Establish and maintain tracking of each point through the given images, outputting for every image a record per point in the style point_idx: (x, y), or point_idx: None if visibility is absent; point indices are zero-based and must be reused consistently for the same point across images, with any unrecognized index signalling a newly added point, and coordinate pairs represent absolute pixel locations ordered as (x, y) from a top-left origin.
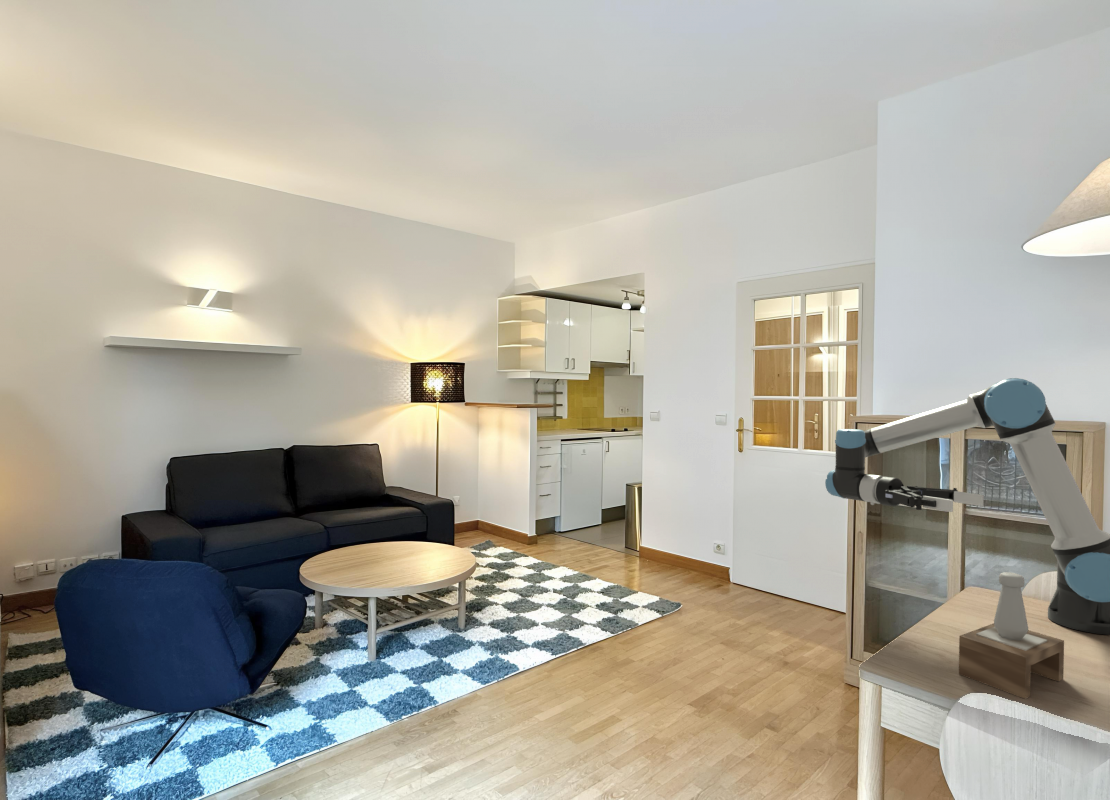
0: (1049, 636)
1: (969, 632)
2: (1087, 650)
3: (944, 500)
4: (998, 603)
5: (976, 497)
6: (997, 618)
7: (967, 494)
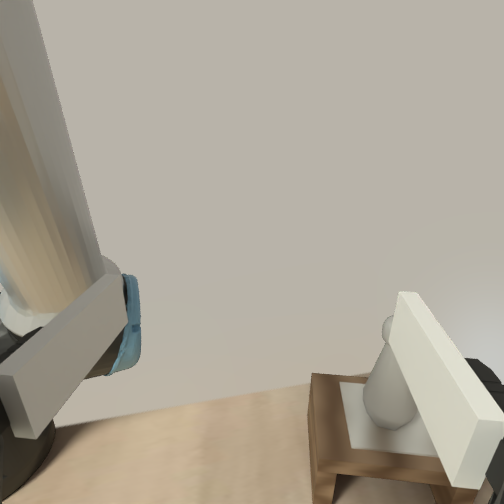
0: (314, 386)
1: (444, 471)
2: (155, 422)
3: (430, 317)
4: (408, 387)
5: (110, 301)
6: (415, 404)
7: (80, 320)
